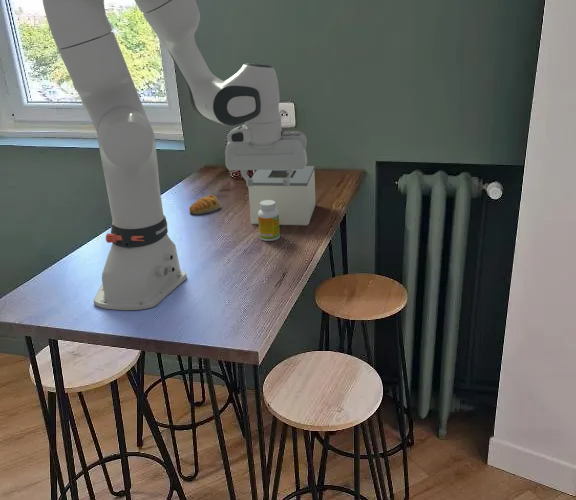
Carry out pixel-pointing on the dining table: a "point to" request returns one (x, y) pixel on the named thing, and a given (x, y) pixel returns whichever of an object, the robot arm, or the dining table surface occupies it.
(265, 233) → the supplement bottle
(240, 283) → the dining table surface
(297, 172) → the hole box
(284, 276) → the dining table surface
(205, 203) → the pastry
